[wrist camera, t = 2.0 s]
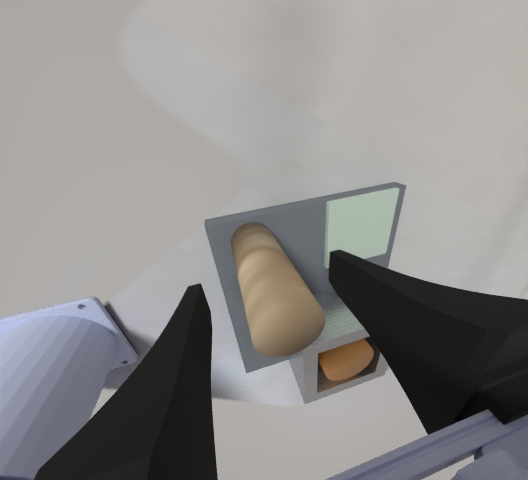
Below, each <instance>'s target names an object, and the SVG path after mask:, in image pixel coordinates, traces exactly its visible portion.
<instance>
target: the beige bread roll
mask: <svg viewBox="0 0 528 480" xmlns="http://www.w3.org/2000/svg"><path fill="white" fill-rule="evenodd" d="M231 249H232V254H233V258H234V263H235V267H236V272H237V276H238V281H239V285H240V290H241V294H242V299H243V303H244V308H245V312H246V317H247V321H248V326H249V330H250V335H251V339H252V344H253V346H254V348H255V349H256V350H257V351H258V352H259V353H260V354H262V355H265V356H269V357H284V356H288V355H292V354H295V353H297V352H299V351H301V350H303V349H305V348H307V347H308V346H309V345H311V344H312V343H313V342H314V341H315V340H316V339H317V338H318V337H319V336H320V334H321V333H322V331H323V329H324V326H325V322H326V317H325V313H324V311H323V310H322V308H321V307H320V305H319V304H318V302H317V301H316V299H315V298H314V296H313V294H312V293H311V291H310V290H309V288H308V287H307V285H306V284H305V282H304V281H303V279H302V278H301V276H300V275H299V273H298V272H297V270H296V269H295V267H294V266H293V264H292V263H291V261H290V260H289V258H288V257H287V255H286V254H285V252H284V251H283V249H282V248H281V246H280V245H279V243H278V242H277V240H276V239H275V237H274V236H273V234H272V233H271V231H270V230H269V228H268V227H266V226H265V225H263V224H261V223H257V222H251V223H246V224H244V225H242V226H240V227H239V228H238V229H237V230H236V231H235V232H234V234H233V235H232V238H231Z"/></svg>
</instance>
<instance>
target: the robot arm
mask: <svg viewBox="0 0 528 480" xmlns="http://www.w3.org/2000/svg"><path fill="white" fill-rule="evenodd" d="M328 280H329V282H330V284H331V285H332V287H333V289H334V290H335V292H336V293H337V295H338V296H339V297H340V299H341V300H342V301H343V303H344V304H345V305H346V306H347V308H348V309H349V310H350V311H351V312H352V314H353V315H354V316H355V317H356V319H357V320H358V321H359V322H360V324H361V325H362V326H363V327H364V329H365V330H366V331H367V333H368V334H369V335H370V337H371V338H372V340H373V341H374V343H375V344H376V346H377V347H378V349H379V350H380V352H381V354H382V355H383V357H384V358H385V360H386V362H387V363H388V365H389V366H390V368H391V369H392V371H393V373H394V375H395V376H396V378H397V380H398V381H399V383H400V384H401V386H402V388H403V390H404V392H405V393H406V395H407V397H408V399H409V400H410V402H411V404H412V406H413V408H414V410H415V411H416V413H417V415H418V417H419V419H420V420H421V422H422V424H423V426H424V428H425V430H426V432H427V434H428V435H427V436H425V437H422V438H420V439H418V440H416V441H413V442H411V443H409V444H406V445H404V446H402V447H399V448H397V449H395V450H393V451H390V452H388V453H386V454H384V455H381V456H379V457H377V458H374V459H372V460H370V461H367V462H365V463H363V464H360V465H358V466H356V467H354V468H351V469H349V470H347V471H344V472H342V473H340V474H337V475H335V476H333V477H330V478H328V479H326V480H421V479H423V478H425V477H427V476H430V475H432V474H434V473H436V472H438V471H440V470H442V469H444V468H447V467H448V466H451V465H453V464H455V463H457V462H459V461H461V460H463V459H466V458H468V457H470V456H472V455H474V454H475V455H474V460H475V461H474V462H472V463H470V464H469V465H467V466H465V467H464V468H462V469H460V470H458V472H457V473H456V475H455V476H454V477H453V478H452V479H451V480H528V300H526V299H519V298H511V297H504V296H496V295H489V294H484V293H478V292H472V291H467V290H462V289H457V288H452V287H448V286H444V285H439V284H435V283H431V282H427V281H424V280H420V279H417V278H414V277H410V276H407V275H404V274H401V273H398V272H395V271H393V270H390V269H387V268H385V267H382V266H379V265H377V264H374V263H372V262H370V261H367V260H365V259H362V258H360V257H358V256H355V255H353V254H350V253H348V252H346V251H343V250H340V249H339V250H335V251H331V252H330V258H329V278H328ZM82 304H84V305H86V306H84V305H82ZM211 352H212V322H211V311H210V308H209V306H208V303H207V300H206V297H205V294H204V291H203V288H202V285H201V283H200V284H196V285H192V286H189V287H188V288H187V290H186V292H185V294H184V296H183V297H182V299H181V301H180V303H179V305H178V307H177V309H176V310H175V312H174V314H173V316H172V317H171V319H170V321H169V322H168V324H167V326H166V327H165V329H164V330H163V332H162V333H161V335H160V336H159V338H158V340H157V341H156V342H155V344H154V345H153V347H152V348H151V350H150V351H149V352H148V354H147V355H146V356H145V358H144V359H143V360H142V362H141V363H140V364H139V365H138V367H137V368H136V369H135V370H134V371H133V373H132V374H131V375H130V376H129V377H128V379H127V380H126V381H125V382H124V383H123V384H122V386H121V387H120V388H119V389H118V390H117V391H116V392H115V394H114V395H113V396H112V397H111V398H110V399H109V400H108V401H107V402H106V403H105V404H104V405H103V407H102V408H101V409H100V410H99V411H98V412H97V413H96V414H95V415H94V416H93V417H92V418H91V419H90V417H91V415H92V413H93V410H94V408H95V405H96V403H97V400H98V398H99V395H100V393H101V390H102V388H103V385H104V383H105V381H106V378H107V376H108V373H109V371H110V370H113V369H116V368H119V367H123V366H126V365H130V364H133V363H135V362H136V361H137V359H138V355H137V354H136V352H135V351H134V349H133V348H132V346H131V345H130V343H129V342H128V341H127V339H126V338H125V336H124V335H123V333H122V332H121V331H120V329H119V328H118V326H117V325H116V323H115V322H114V320H113V319H112V318H111V316H110V315H109V313H108V312H107V310H106V309H105V308H104V306H103V305H102V303H101V302H100V300H99V299H98V298H96V297H86V298H82V299H77V300H73V301H69V302H65V303H61V304H56V305H52V306H48V307H44V308H39V309H35V310H31V311H27V312H23V313H19V314H14V315H10V316H6V317H2V318H0V480H218V479H217V468H216V455H215V443H214V430H213V415H212V399H211Z"/></svg>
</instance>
